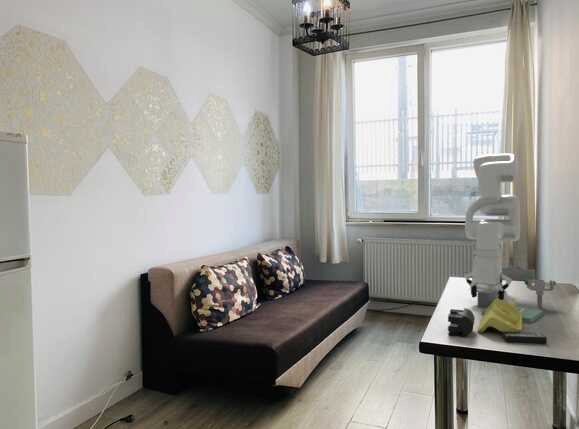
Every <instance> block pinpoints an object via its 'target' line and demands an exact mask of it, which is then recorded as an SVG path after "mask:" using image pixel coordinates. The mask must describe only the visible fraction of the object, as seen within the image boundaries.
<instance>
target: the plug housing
mask: <svg viewBox="0 0 579 429" xmlns="http://www.w3.org/2000/svg"><path fill="white" fill-rule="evenodd" d="M495 299H498V293H497V290H489V289H485V290H482V291H477V307H478V308H480V309H481V308H482V309H485V308H487V307H489V306H490V305H491V303H492V302H493V301H494V300H495Z"/></svg>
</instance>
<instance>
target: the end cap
mask: <svg viewBox="0 0 579 429" xmlns="http://www.w3.org/2000/svg"><path fill="white" fill-rule="evenodd" d="M447 322H449V325H447V332H448V333H447V335H448V336H449V337H457V338H465V337H467V336H468V335H470V334H472V333H473V330H474V325H475V314H474V312H472V311H471V310H470V309H469V308H466V307H464V308H463V309H453V308H451V309H450V310H449V313H448V315H447Z"/></svg>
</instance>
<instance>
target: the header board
mask: <svg viewBox="0 0 579 429" xmlns="http://www.w3.org/2000/svg"><path fill="white" fill-rule="evenodd" d="M507 302H508V304H510V305H512V306H513V307H515V308H516V309H517V310H518V311H519V312H520V313H521V315H522V323H528V324H532V323H534V322H535V321H536V320H537V319H539V318H540V317H541V316H543V314H544V310H542V309H536V308H531V307H523V306H517V299H515V298H513V299H510V300H508V301H507ZM488 308H489V307H487V308H482V309H480V310H481V315H482V316H484V314H485V312H486V311H487V309H488Z"/></svg>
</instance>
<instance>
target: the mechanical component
mask: <svg viewBox="0 0 579 429" xmlns="http://www.w3.org/2000/svg"><path fill="white" fill-rule="evenodd" d="M533 284H534V285H533ZM524 285H526V287H527V289H528V290H530V291H534V292H535V291H536V292H535V295H537V307H540V308H542V307H543V296H544V295H545V294H544V292H552V291H554V289H555V286H556V285H557V284H556V280H551V279H550V280H549V282H548V283H546V282H545V280H544V279H533V278H531V279H525V280H524ZM545 287H548V288H545Z"/></svg>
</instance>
